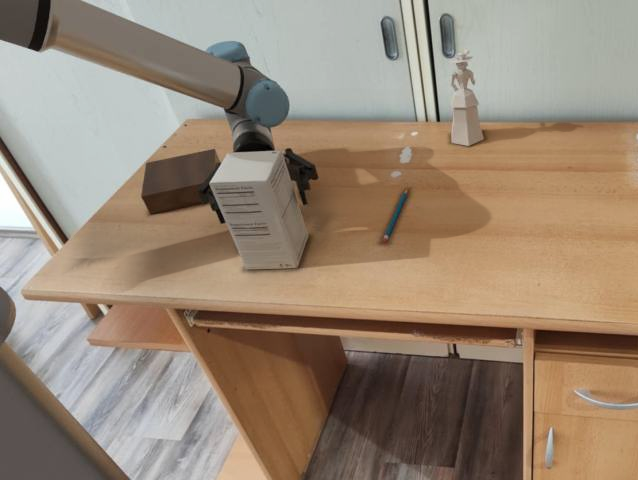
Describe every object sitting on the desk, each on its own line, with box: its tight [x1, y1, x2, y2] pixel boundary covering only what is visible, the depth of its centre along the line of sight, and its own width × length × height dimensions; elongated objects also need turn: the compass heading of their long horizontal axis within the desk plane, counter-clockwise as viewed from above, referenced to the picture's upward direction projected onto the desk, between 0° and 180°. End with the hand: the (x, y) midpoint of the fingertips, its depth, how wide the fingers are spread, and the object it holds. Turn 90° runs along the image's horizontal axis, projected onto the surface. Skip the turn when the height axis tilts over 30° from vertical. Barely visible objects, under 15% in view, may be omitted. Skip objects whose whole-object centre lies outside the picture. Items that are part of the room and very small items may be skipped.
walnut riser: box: [140, 148, 221, 215], centre depth 118 cm, size 14×14×4 cm
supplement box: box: [209, 150, 309, 270], centre depth 96 cm, size 10×9×17 cm
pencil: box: [381, 189, 408, 244], centre depth 107 cm, size 1×17×1 cm, turn 169°
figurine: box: [449, 48, 485, 147], centre depth 120 cm, size 7×8×18 cm
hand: (262, 207), depth 96 cm, fingers open, 13 cm apart
